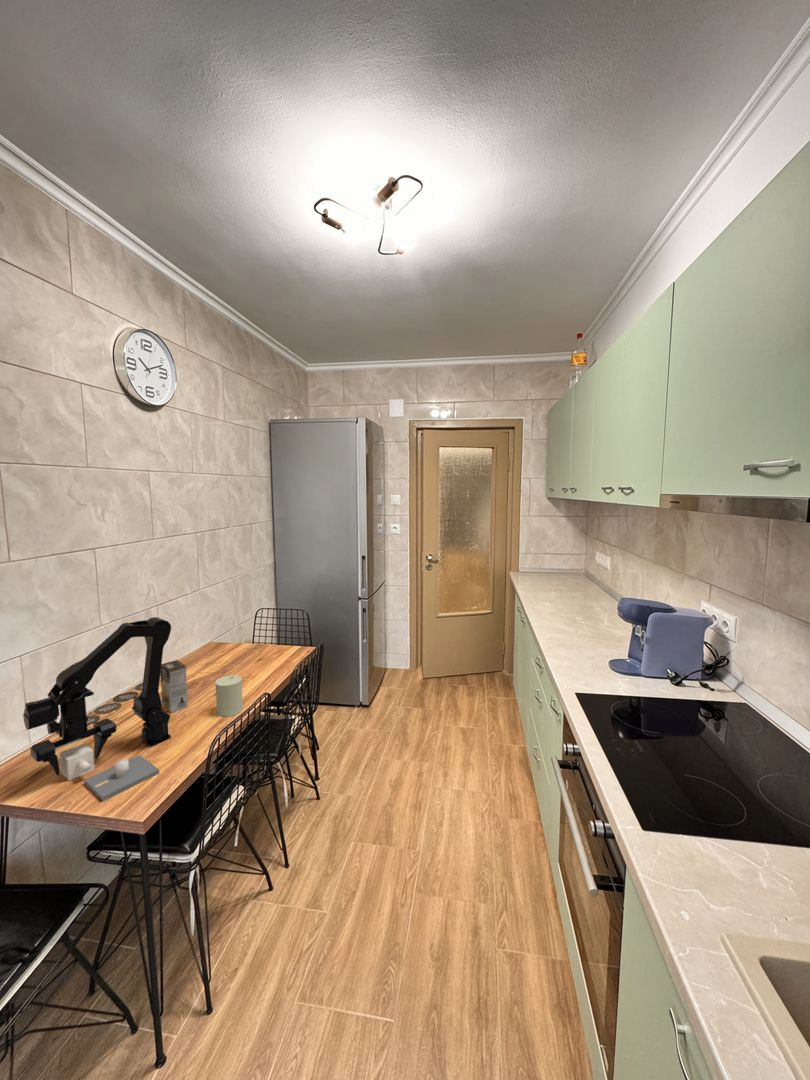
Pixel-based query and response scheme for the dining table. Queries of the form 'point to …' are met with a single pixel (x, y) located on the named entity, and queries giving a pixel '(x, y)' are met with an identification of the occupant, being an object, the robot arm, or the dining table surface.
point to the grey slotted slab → (121, 777)
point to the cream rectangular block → (76, 761)
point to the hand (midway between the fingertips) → (77, 766)
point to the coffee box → (174, 685)
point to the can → (229, 695)
